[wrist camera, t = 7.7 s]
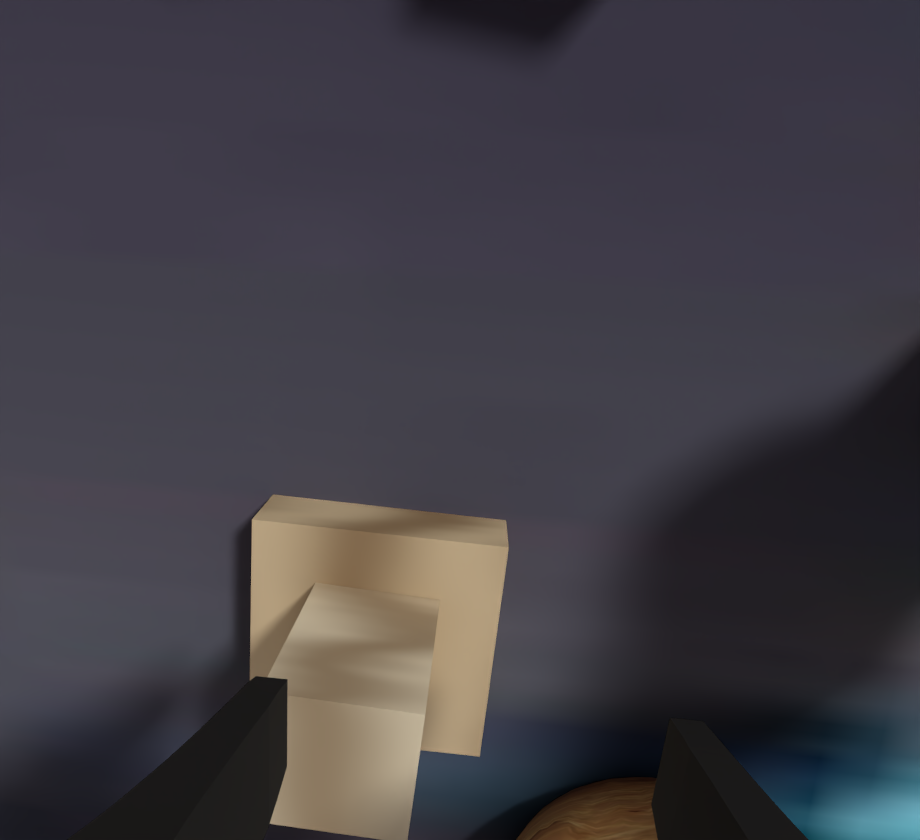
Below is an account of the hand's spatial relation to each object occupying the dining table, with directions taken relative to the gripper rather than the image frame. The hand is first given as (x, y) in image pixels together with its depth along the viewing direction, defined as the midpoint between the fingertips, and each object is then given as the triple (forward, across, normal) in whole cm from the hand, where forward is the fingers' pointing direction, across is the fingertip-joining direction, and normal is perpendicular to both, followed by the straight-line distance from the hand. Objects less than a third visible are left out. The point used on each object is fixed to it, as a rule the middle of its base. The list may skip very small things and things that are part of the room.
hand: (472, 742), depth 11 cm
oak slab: (+10, +3, +4) cm, 11 cm away
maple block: (+8, +3, +4) cm, 9 cm away
